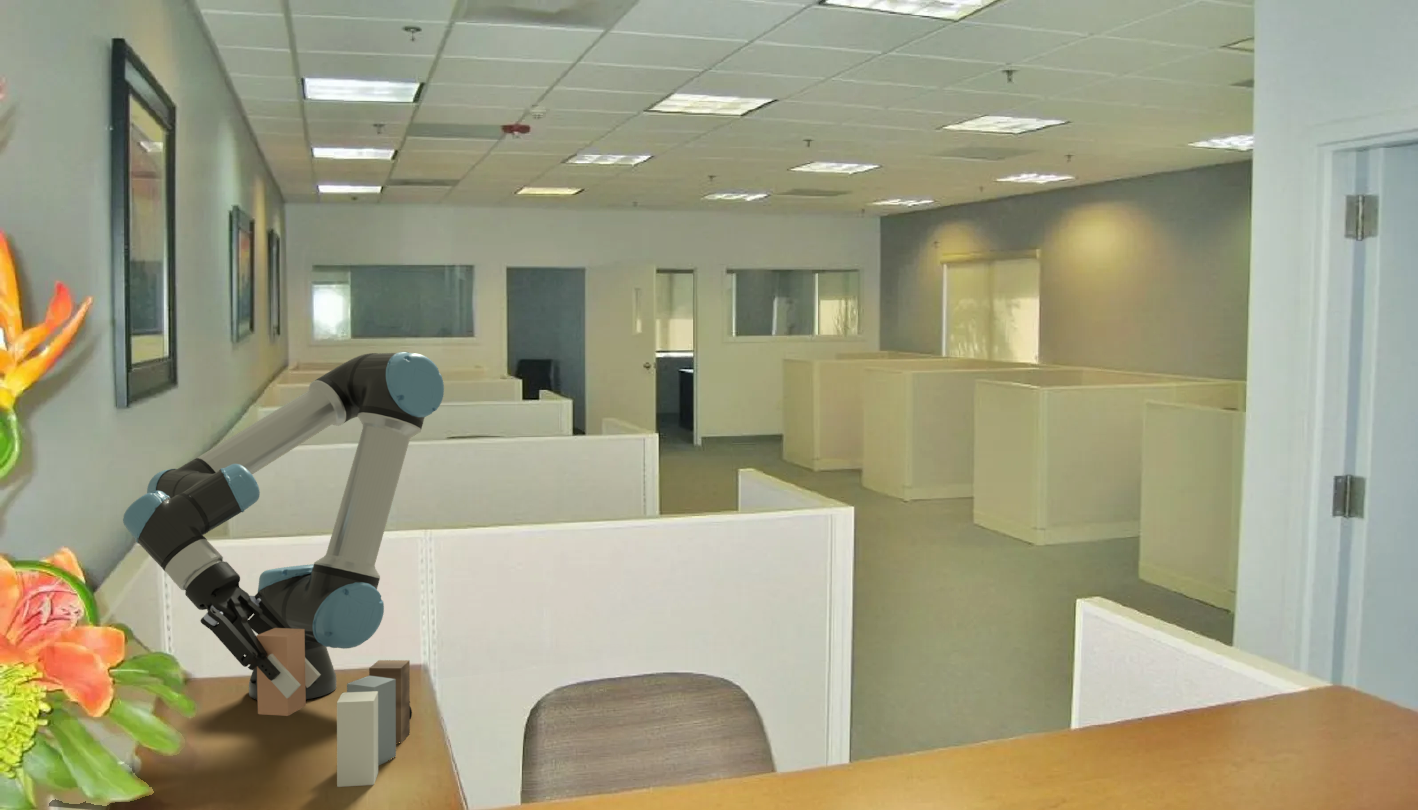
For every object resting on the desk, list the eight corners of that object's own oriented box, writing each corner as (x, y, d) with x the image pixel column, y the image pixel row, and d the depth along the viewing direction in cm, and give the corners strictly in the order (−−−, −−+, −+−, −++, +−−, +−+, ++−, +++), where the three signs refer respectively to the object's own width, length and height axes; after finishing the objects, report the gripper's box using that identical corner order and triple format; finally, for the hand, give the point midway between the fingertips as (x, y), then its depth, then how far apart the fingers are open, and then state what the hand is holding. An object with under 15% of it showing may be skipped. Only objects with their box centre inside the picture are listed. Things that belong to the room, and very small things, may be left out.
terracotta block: (276, 704, 175) (274, 627, 174) (305, 705, 174) (304, 629, 173) (257, 714, 170) (256, 635, 169) (288, 715, 169) (286, 636, 168)
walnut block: (379, 733, 182) (378, 660, 182) (409, 733, 182) (409, 660, 182) (369, 743, 177) (369, 668, 177) (401, 743, 177) (400, 668, 177)
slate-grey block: (369, 753, 173) (368, 675, 172) (395, 757, 171) (395, 678, 170) (347, 763, 168) (346, 683, 168) (374, 767, 166) (373, 687, 166)
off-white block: (342, 774, 163) (342, 692, 163) (378, 772, 164) (378, 691, 164) (337, 786, 158) (336, 702, 158) (373, 784, 159) (373, 700, 159)
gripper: (224, 581, 183) (319, 686, 180) (150, 604, 165) (254, 721, 163) (253, 549, 182) (349, 654, 179) (181, 569, 164) (287, 686, 161)
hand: (303, 686), depth 171 cm, fingers closed on terracotta block, 5 cm apart
